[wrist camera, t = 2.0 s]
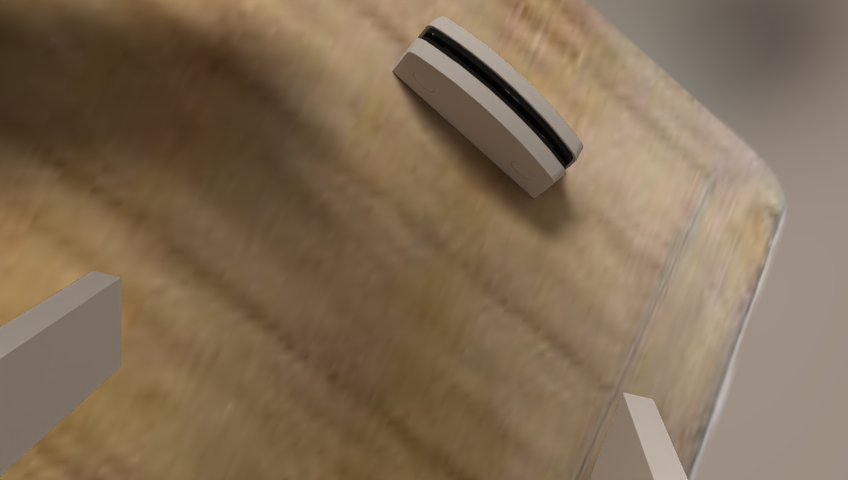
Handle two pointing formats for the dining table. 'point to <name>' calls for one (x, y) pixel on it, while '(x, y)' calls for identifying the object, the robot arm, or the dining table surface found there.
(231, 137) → the dining table surface
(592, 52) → the dining table surface
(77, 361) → the robot arm
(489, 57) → the grey curved grooved block
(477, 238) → the dining table surface
